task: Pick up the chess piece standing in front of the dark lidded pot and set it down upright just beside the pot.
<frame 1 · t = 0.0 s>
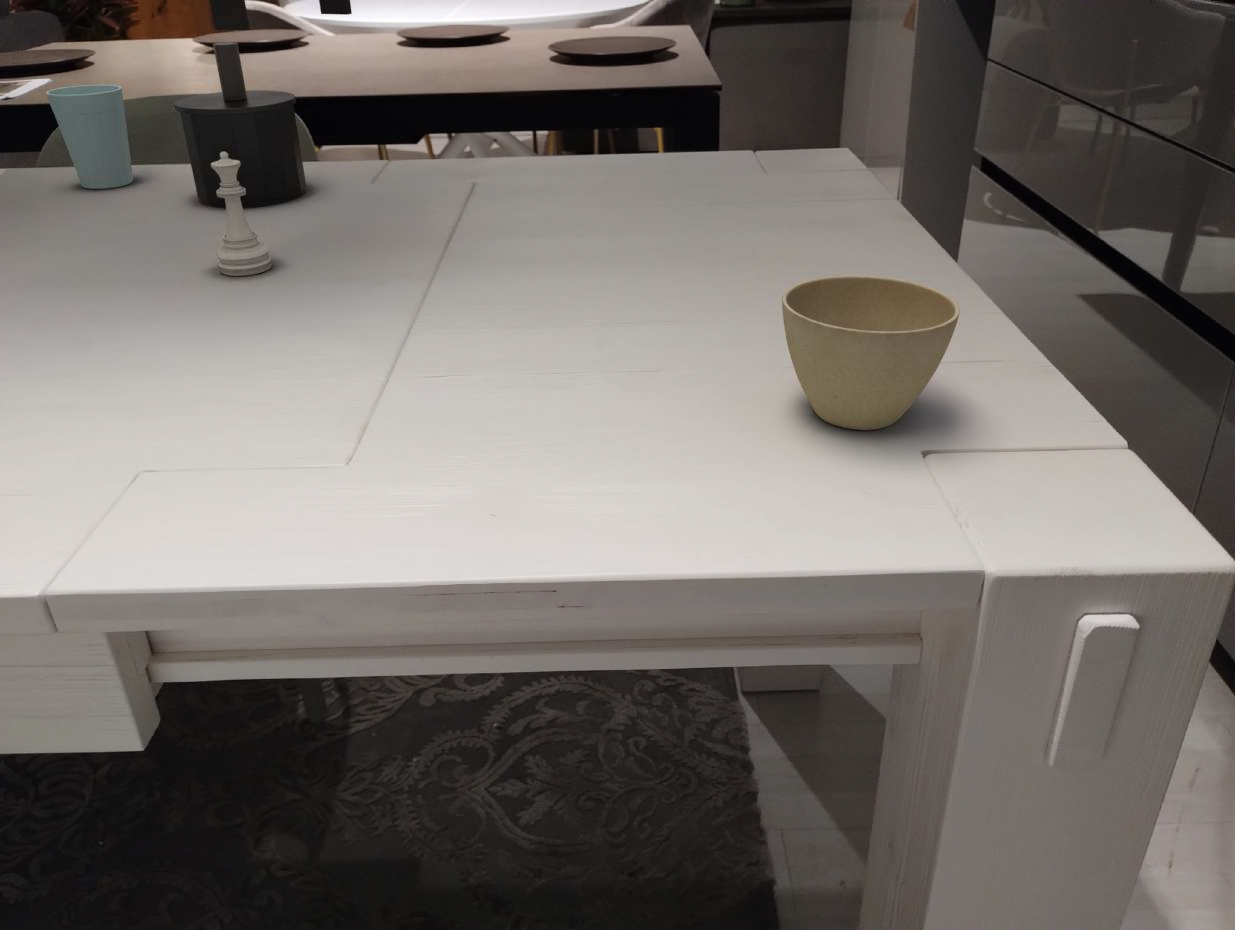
hand: (287, 21, 84), 19 cm above the table, tool pointing down, fingers open, 13 cm apart
flower pot: (856, 415, 62), on the table
cup: (108, 185, 118), on the table
chess piece: (246, 270, 89), on the table
pot lid: (236, 105, 108), point 9 cm above the table, touching pot
pot: (253, 195, 112), on the table
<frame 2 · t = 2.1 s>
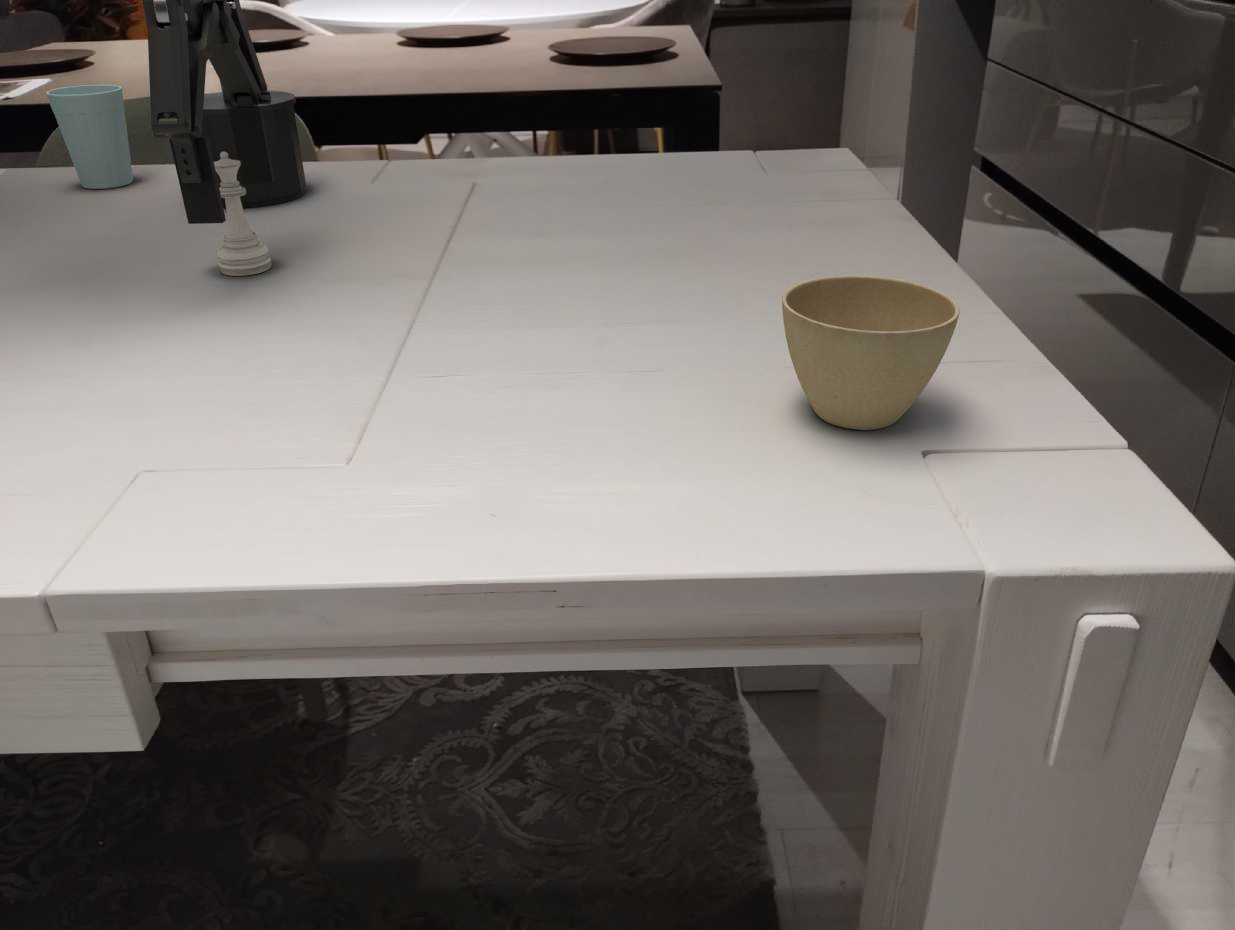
hand: (235, 201, 86), 6 cm above the table, tool pointing down, fingers open, 13 cm apart
nothing on the table moved.
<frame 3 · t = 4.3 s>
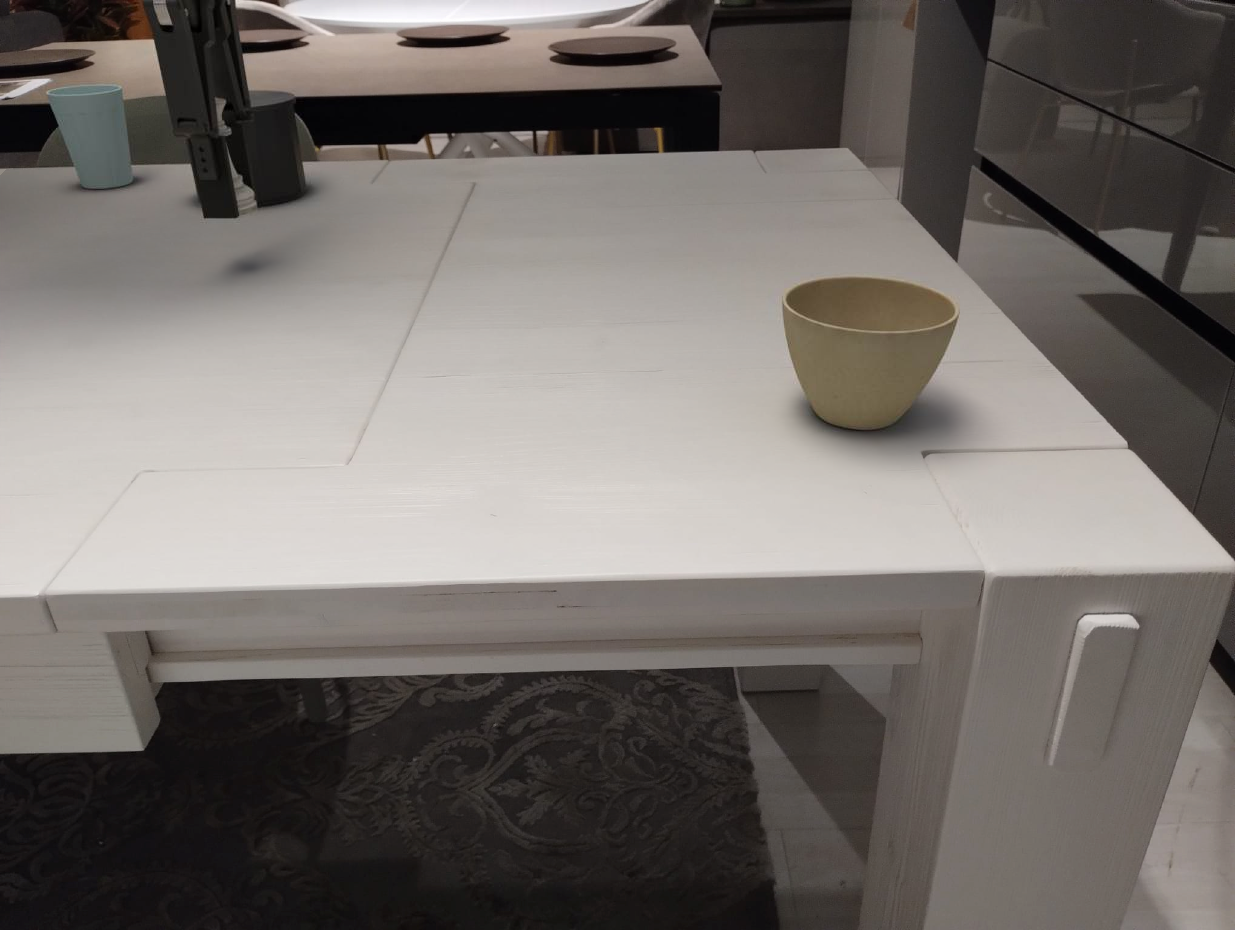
hand: (231, 208, 86), 5 cm above the table, tool pointing down, fingers closed on chess piece, 4 cm apart
chess piece: (231, 214, 87), point 5 cm above the table, touching gripper
everything else where it was.
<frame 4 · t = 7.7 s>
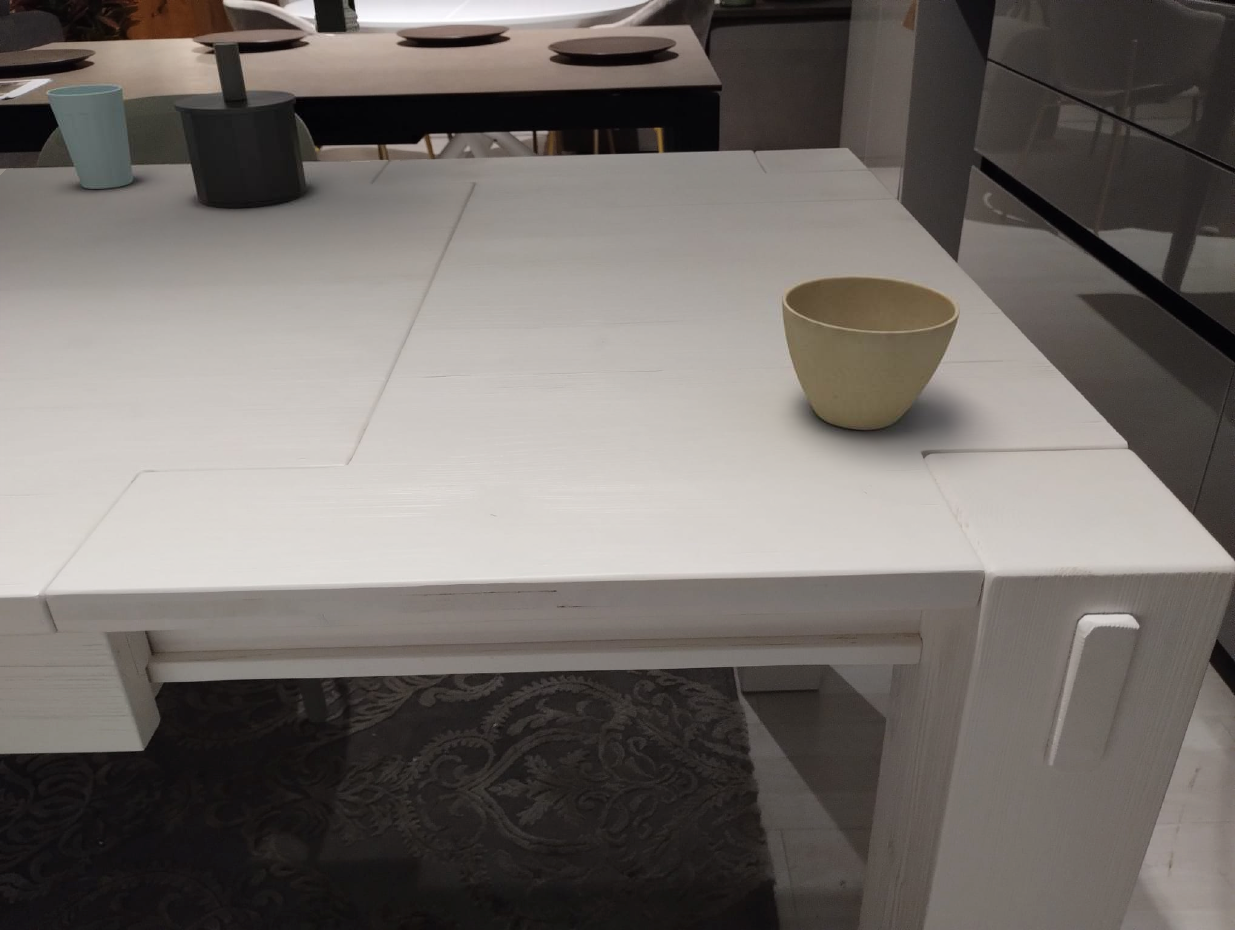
hand: (338, 28, 104), 17 cm above the table, tool pointing down, fingers closed on chess piece, 4 cm apart
chess piece: (338, 33, 104), point 16 cm above the table, touching gripper
everything else where it was.
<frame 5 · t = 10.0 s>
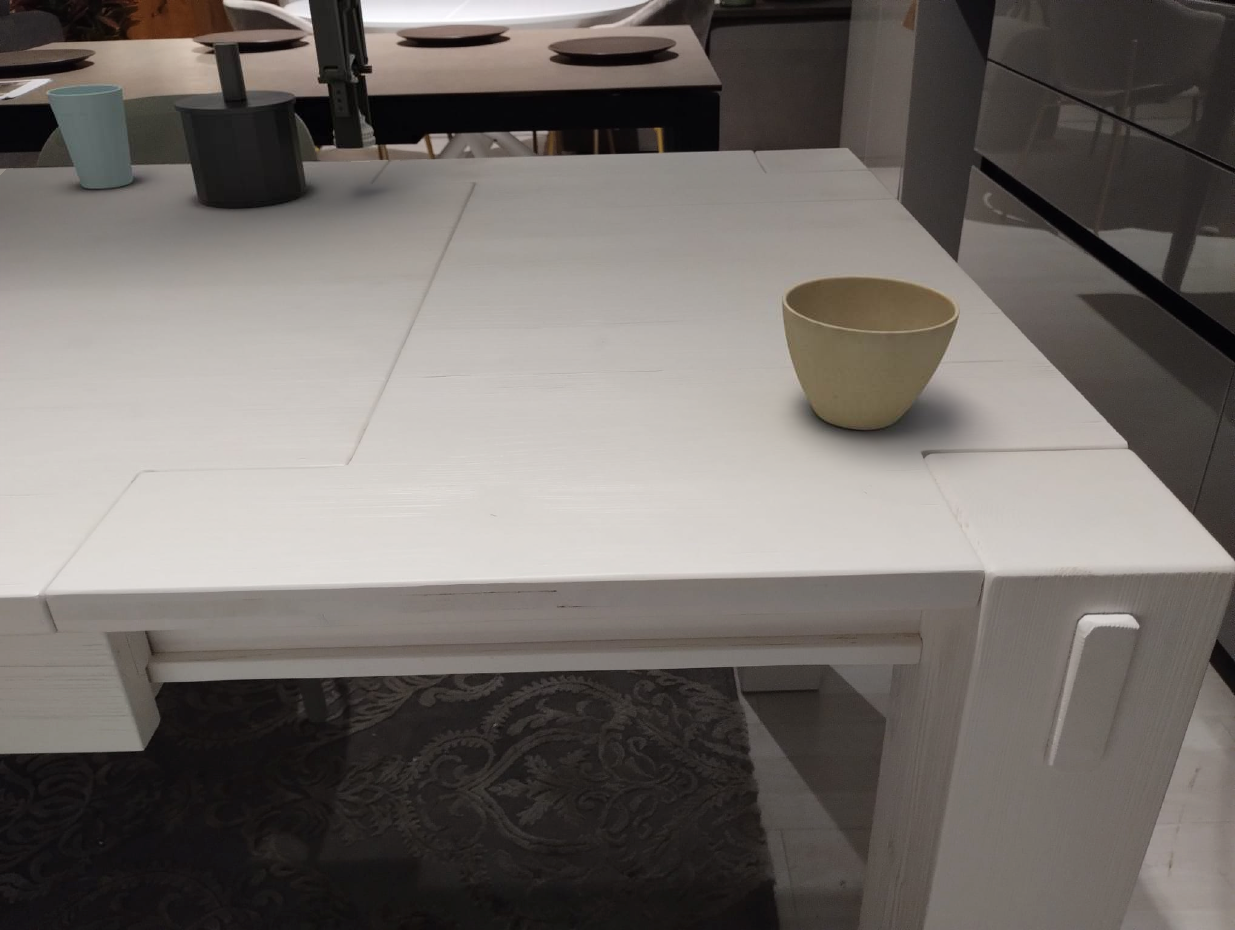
hand: (355, 142, 110), 5 cm above the table, tool pointing down, fingers closed on chess piece, 4 cm apart
chess piece: (355, 147, 110), point 5 cm above the table, touching gripper
everything else where it was.
when the fingers open (0 cm above the table, at t = 11.4 s): chess piece stays where it is, on the table.
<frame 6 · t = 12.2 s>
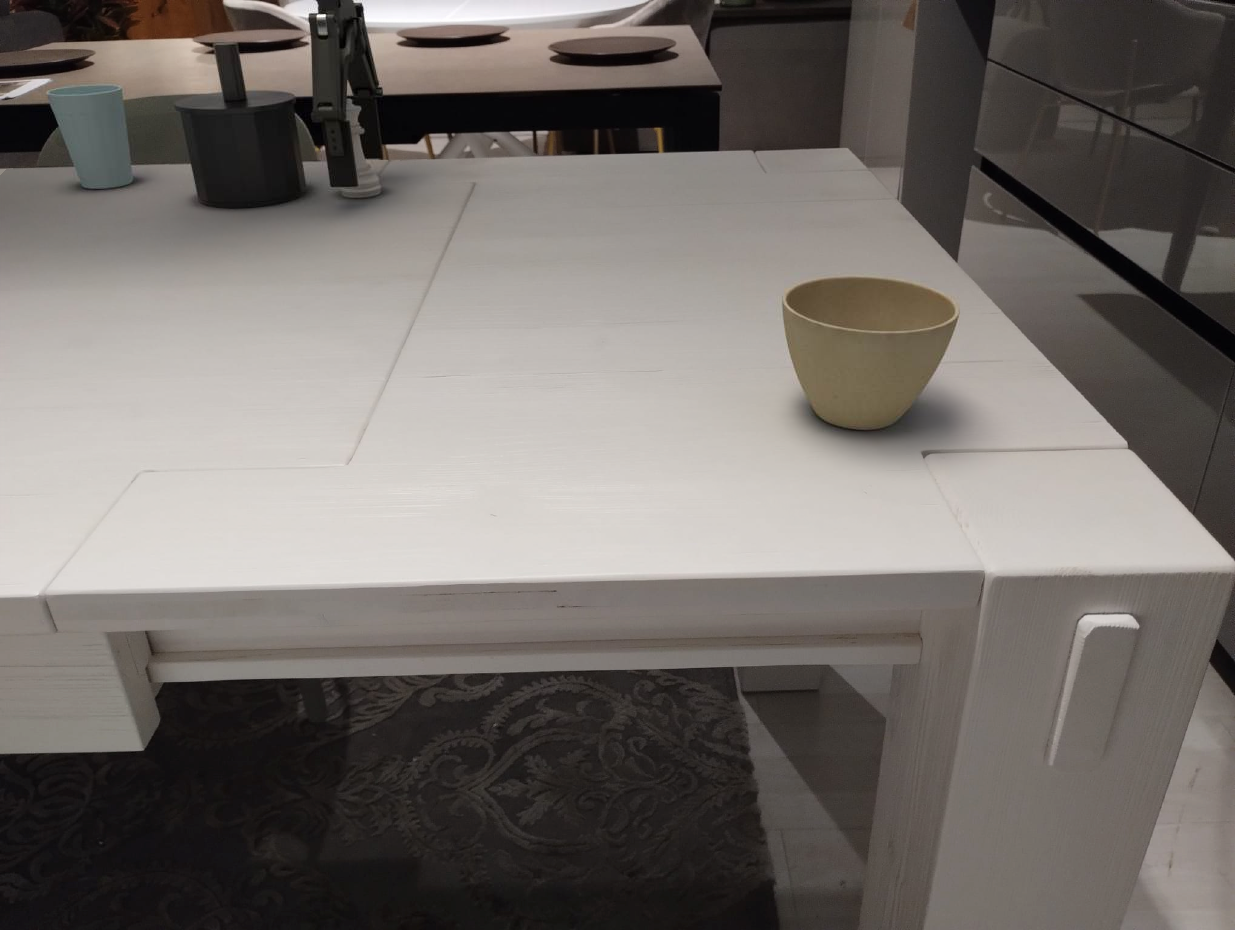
hand: (358, 172, 111), 2 cm above the table, tool pointing down, fingers open, 13 cm apart
chess piece: (361, 195, 112), on the table
everything else where it was.
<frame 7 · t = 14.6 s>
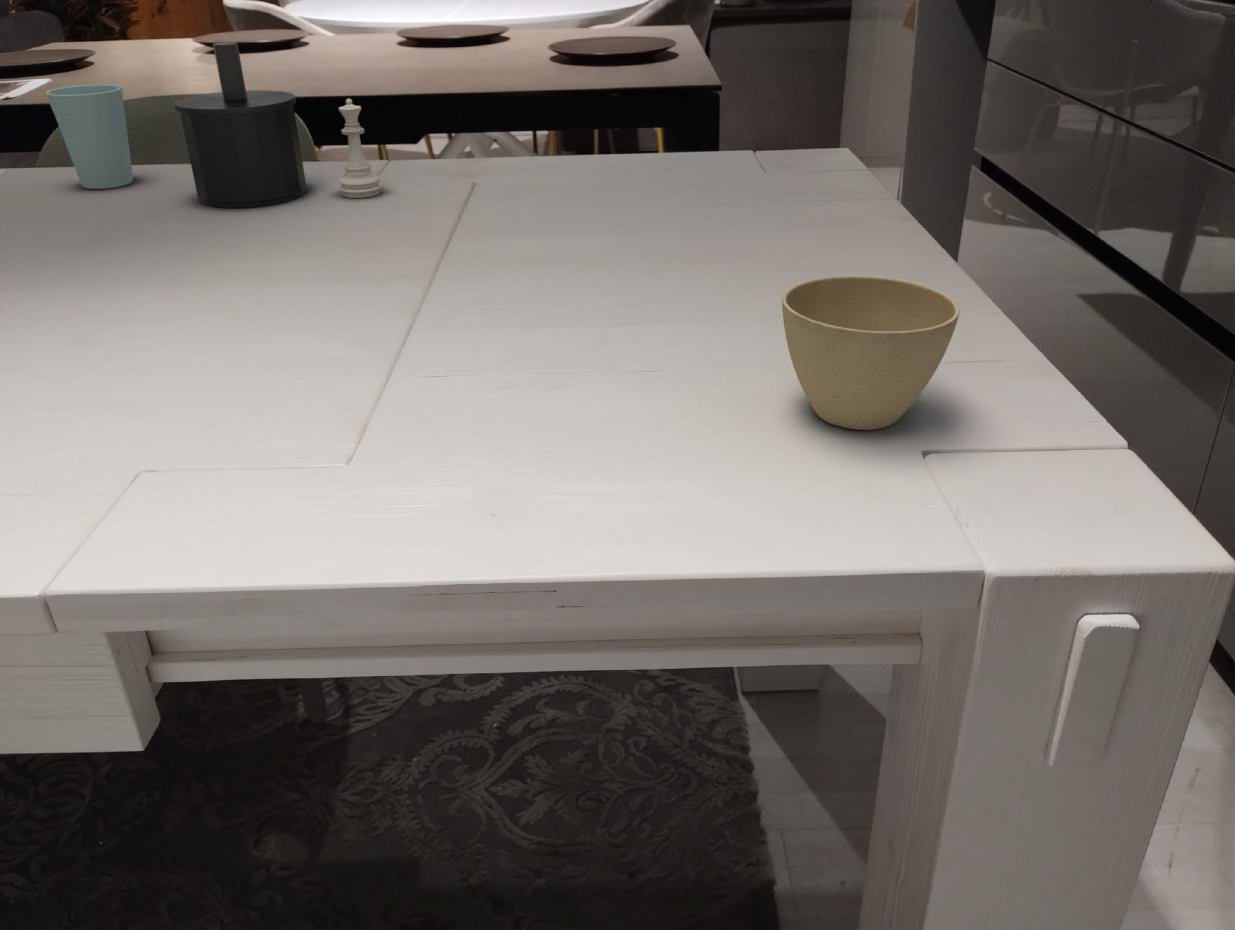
nothing on the table moved.
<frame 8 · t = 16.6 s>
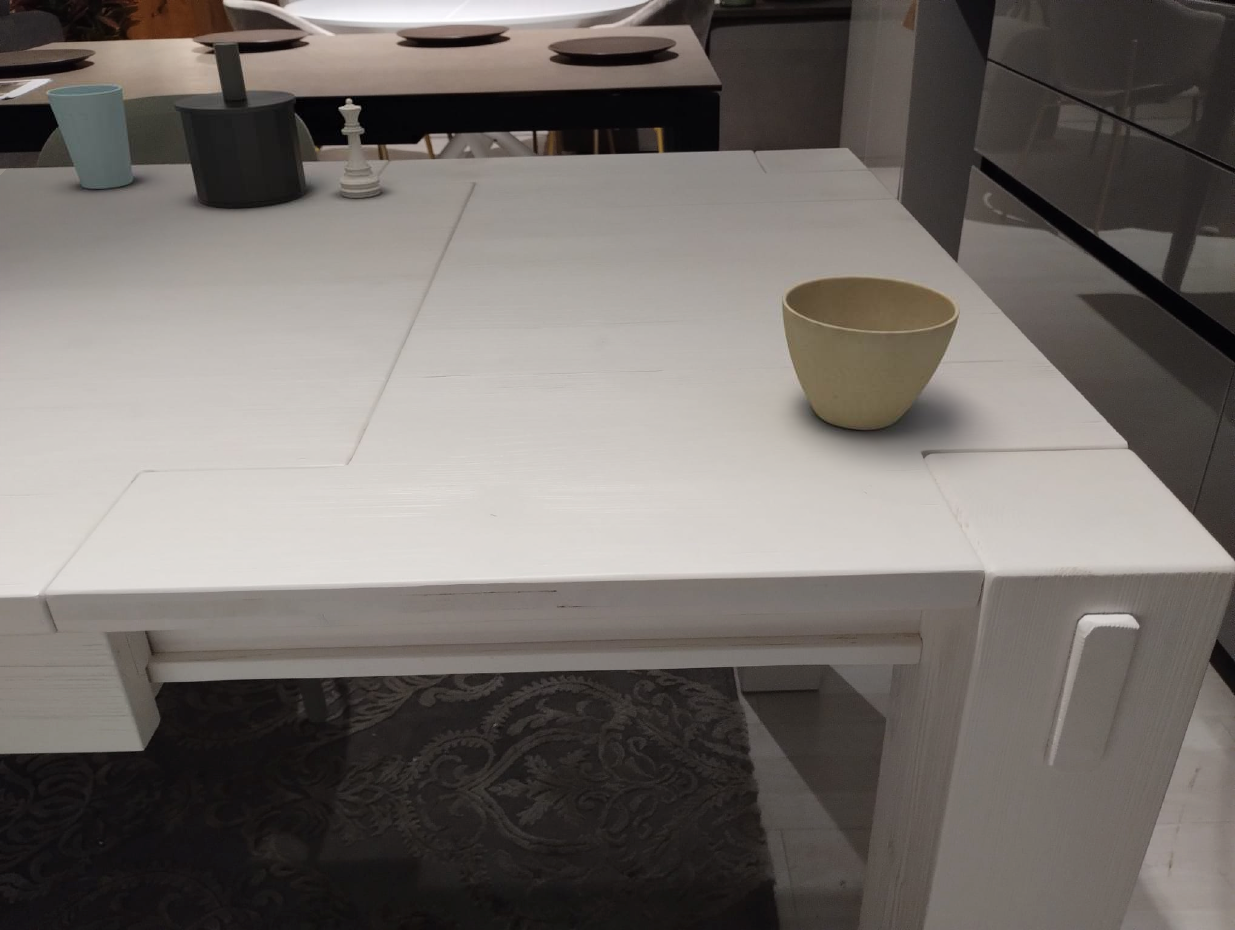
nothing on the table moved.
at the end: chess piece inside the target area on the table beside the pot (0.7 cm from its centre), on the table; chess piece tilted 0° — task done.
